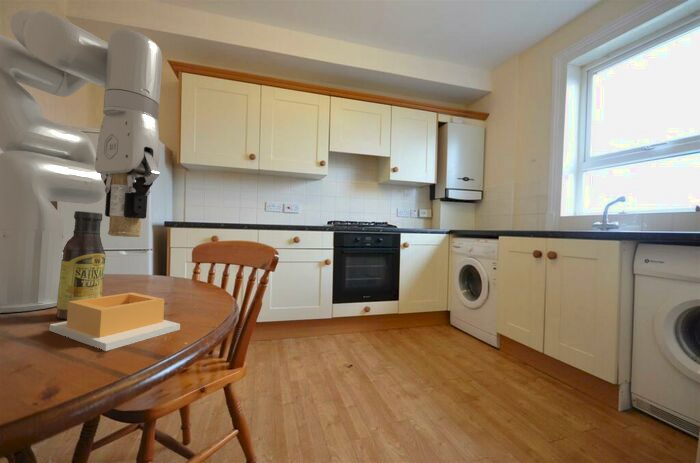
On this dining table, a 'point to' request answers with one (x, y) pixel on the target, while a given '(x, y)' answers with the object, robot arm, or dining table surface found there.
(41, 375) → the dining table surface
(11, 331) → the dining table surface
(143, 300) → the socket base
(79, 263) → the sauce bottle
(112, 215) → the sprinkles bottle
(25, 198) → the robot arm
